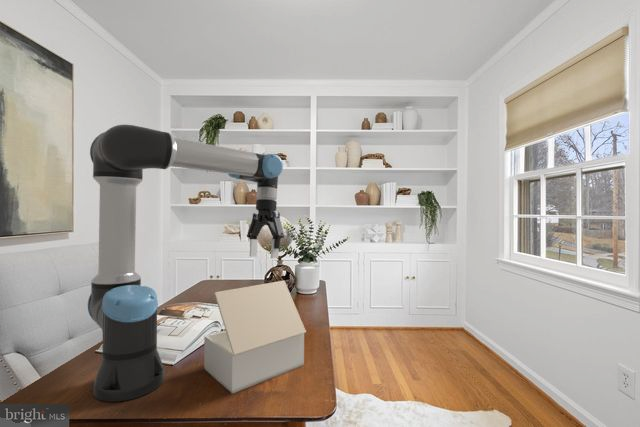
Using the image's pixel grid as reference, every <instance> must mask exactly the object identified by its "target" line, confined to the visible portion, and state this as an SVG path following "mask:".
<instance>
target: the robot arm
mask: <svg viewBox="0 0 640 427" xmlns="http://www.w3.org/2000/svg"><path fill="white" fill-rule="evenodd" d="M89 156H90V160H91V162H92V179H93V180H94V181H95V182H96V183H97V184H99V218H98V220H99V221H98V224H99V226H98V271H97V272H98V273H97V275H96V276H94V277H93V278H92V279H91V288H90V290H91V292H90V295H89V297H88V301H87V312H88V315H89V316H90V318H91V319H92V320H93V321H94V322H95V324H96V325H97V326H98V327H99V328H100V329H101V331H102V332H101V333H102V359H101V362H100V365H99V367H98V371H97V373H96V376H95V379H94V382H93V396H94V397H95V399H97V400H99V401H103V402H111V403H113V402H114V403H115V402H116V403H117V402H124V401H129V400H134V399H137V398H140V397H143V396H145V395H147V394H150V393H151V392H153V391H155V390H156V389H157V388H159V387H160V386H161V385H162V384H163V383H164V381H165V367H164V365H163V362H162V360H161V357H160V354H159V351H158V344H157V343H158V305H159V303H158V302H159V301H158V299H157V297H158V295H157V293H156V291H155V289H153V288H151V287H150V286H146V285H143V286H142V281H141V280H142V279H141V278H142V277H141V276H140V274H139V273H137V272H136V229H137V228H136V226H137V222H136V221H137V220H136V218H137V187H138V185H140V184H141V183H142V182H143V177H144V176H143V170H145V169H158V170H159V169H161V170H168V168H170V167H173V168H182V169H191V170H199V171H206V172H213V173H223V174H228V176H229V177H230V178H233V179H236V180H240V181H241V180H242V181H248V182H252V183H256V186H257V187H256V197H255V198H256V199H257V200H256V202H255V209H256V211H258V213H256V212H255V213H253V214H252V220H251V222H250V224H249V225H250V226H249V229H248V231H247V233H246V238H248V239H249V257H255V258H256V257H257V256H258V236H259V234H260V233H261V230H262V229H263V227H265V226H267V227H268V230H269V231H270V233H271V236H272V238H271V246H270V259H279V254H280V253H279V252H280V246H281V245H280V244H281V243H280V241H281V239H284V238H285V232H284V229H283V226H282V225H283V224H282V222H281V217H280V216H281V215H280V214H281V212H278V211H277V201H276V200H277V198H278V182H279V176H280V175H281V174H282V172H283V170H284V165H283V164H284V163H283V161H282V160H283V159H282V158H281V157H280V156H279V155H277V154H274V153H266V154H261V153H255V152H251V151H245V150H240V149H237V148H236V149H235V148H230V147H224V146H219V145H215V144H209V143H202V142H199V141H193V140H188V139H187V140H186V139H184V138H183V139H182V138H176V137H173V135H172V134H171V133H170V132H167V131H162V130H157V129H152V128H148V127H145V126H144V127H143V126H138V125H133V124H118V125H115V126H112V127H110V128H109V129H107V130H106V131H104V132H101V133H100V134H99V135H98V136H96V137H95V138H94V139H93V141H92V143H91V145H90V147H89Z"/></svg>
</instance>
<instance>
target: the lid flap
mask: <svg viewBox="0 0 640 427" xmlns="http://www.w3.org/2000/svg"><path fill="white" fill-rule="evenodd" d="M213 294H214V297H215V300H216V303H217V307H218V311H219V313H220V316H221V319H222V323H223V327H224V329H225V330H224V331H226V333H227V336H228V340H229V343H230V346H231V349H232V353H233V355H237V354H240V353H243V352H246V351H249V350H252V349H256V348H259V347H262V346H265V345H268V344H271V343H274V342H278V341H281V340H284V339H287V338H290V337H293V336H296V335H300V334H303V333H304V334H306V333H307V330H306V328H305V326H304V323H303V321H302V318H301V316H300V313H299V311H298V308H297V307H296V305H295V302H294V300H293V297H292V295H291V293H290V290H289V287H288V286H287V283H286V281H285V280H279V281H274V282H272V281H271V282H268V283H262V284H261V283H260V284H256V285H250V286H249V285H248V286H244V287H239V288H231V289H227V290H222V291H221V290H220V291H215V292H214V293H213Z"/></svg>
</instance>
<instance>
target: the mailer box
mask: <svg viewBox="0 0 640 427" xmlns="http://www.w3.org/2000/svg"><path fill="white" fill-rule="evenodd" d="M203 338H204V339H203V340H204V344H203V345H204V349H203V350H204V352H203V353H204V354H203V356H204V358H203V359H204V360H203V366H204V367H203V369H204V370H205V371H206V372H207V373H208V374H210V375H211V376H212V378H214V379H215V380H216V381H217V382H218V383H219V384H221V386H223V387H224V388H225V389H226V390H227V391H229V392H230V394H236V393H237V392H240V391H242V390H245V389H248V388H250V387H253V386H255V385H258V384H260V383H263V382H265V381H268V380H270V379H272V378H275V377H277V376H280V375H283V374H286V373H287V372H290V371H292V370H295V369H297V368H299V367H300V368H301V367H302V366H304V365H305V333H303V334H300V335H296V336H293V337H290V338H287V339H284V340H281V341H278V342H274V343H271V344H268V345H265V346H262V347H259V348H256V349H252V350H249V351H246V352H243V353H240V354H237V355H233V353H232V349H231V346H230V343H229V340H228V336H227V333H226V330H222V331H219V332H214V333H211V334H208V335H204V337H203Z"/></svg>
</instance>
